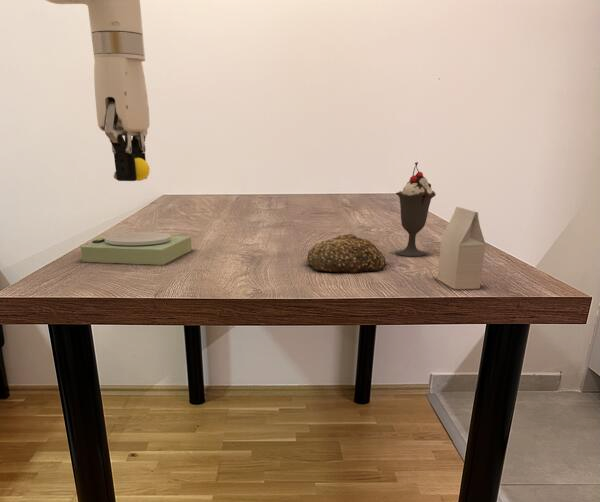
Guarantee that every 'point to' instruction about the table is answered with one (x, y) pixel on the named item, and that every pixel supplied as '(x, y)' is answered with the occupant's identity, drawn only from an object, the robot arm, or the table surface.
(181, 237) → the scale
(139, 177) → the light bulb
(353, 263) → the bread roll
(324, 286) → the table surface
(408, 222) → the sundae
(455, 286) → the gable-top milk carton
